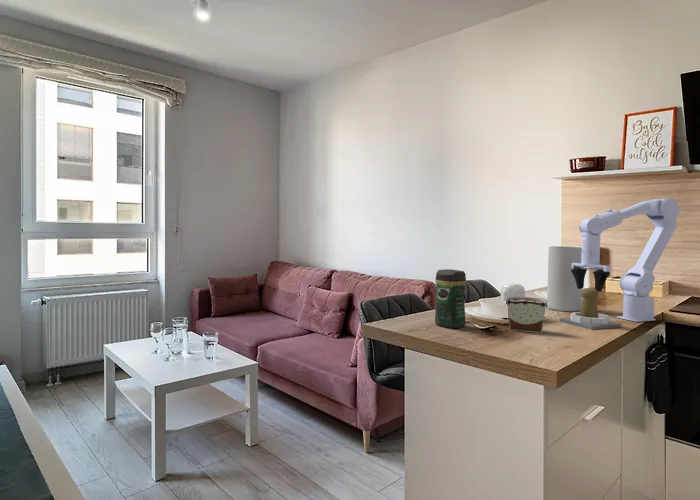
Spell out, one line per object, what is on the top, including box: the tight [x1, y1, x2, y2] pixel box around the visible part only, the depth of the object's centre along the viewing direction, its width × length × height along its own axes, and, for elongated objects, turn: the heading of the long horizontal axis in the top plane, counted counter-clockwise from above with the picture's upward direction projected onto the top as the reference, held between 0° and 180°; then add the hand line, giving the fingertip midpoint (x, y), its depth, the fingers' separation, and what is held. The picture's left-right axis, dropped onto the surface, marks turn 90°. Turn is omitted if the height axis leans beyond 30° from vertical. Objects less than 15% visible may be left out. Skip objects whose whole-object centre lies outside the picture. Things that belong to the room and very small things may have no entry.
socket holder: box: [559, 311, 623, 330], centre depth 149 cm, size 13×13×3 cm
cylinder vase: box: [546, 246, 583, 313], centre depth 177 cm, size 12×12×25 cm
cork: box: [579, 287, 599, 318], centre depth 149 cm, size 6×6×11 cm
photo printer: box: [499, 283, 526, 302], centre depth 159 cm, size 10×4×12 cm, turn 123°
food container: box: [505, 296, 549, 334], centre depth 140 cm, size 12×6×10 cm, turn 71°
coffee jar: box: [434, 268, 467, 329], centre depth 145 cm, size 10×8×19 cm
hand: (589, 290), depth 157 cm, fingers open, 7 cm apart
